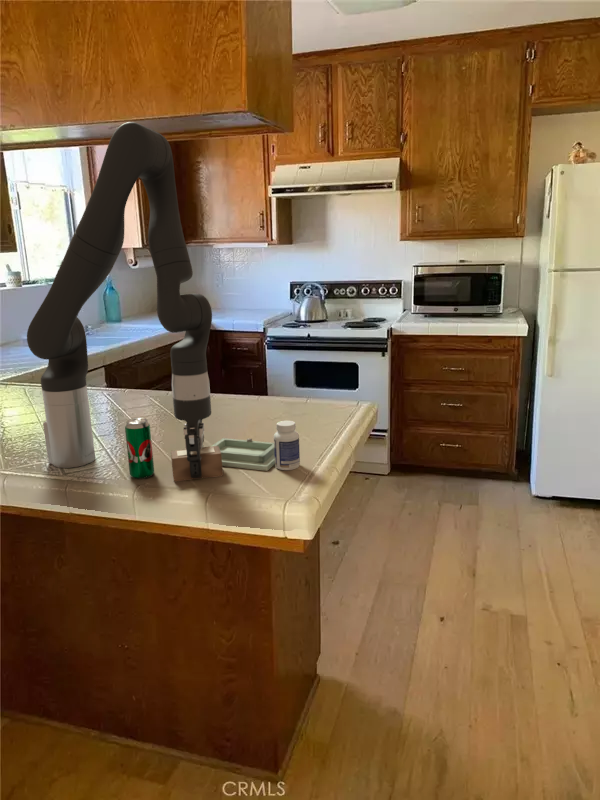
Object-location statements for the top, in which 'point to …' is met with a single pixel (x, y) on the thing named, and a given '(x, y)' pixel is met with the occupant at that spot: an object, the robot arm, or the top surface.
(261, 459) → the pale green tray
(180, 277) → the robot arm
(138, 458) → the soda can
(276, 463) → the pill bottle
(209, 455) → the brown block
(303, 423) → the top surface
